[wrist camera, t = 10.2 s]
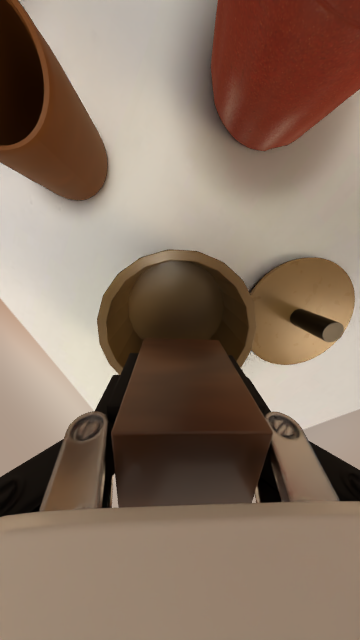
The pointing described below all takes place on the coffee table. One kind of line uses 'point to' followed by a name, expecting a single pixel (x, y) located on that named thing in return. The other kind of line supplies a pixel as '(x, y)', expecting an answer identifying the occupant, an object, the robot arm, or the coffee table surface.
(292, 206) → the coffee table surface
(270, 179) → the coffee table surface
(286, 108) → the flower pot
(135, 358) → the robot arm
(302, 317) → the tin lid
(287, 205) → the coffee table surface
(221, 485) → the block
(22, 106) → the mug
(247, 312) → the tin
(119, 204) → the coffee table surface
